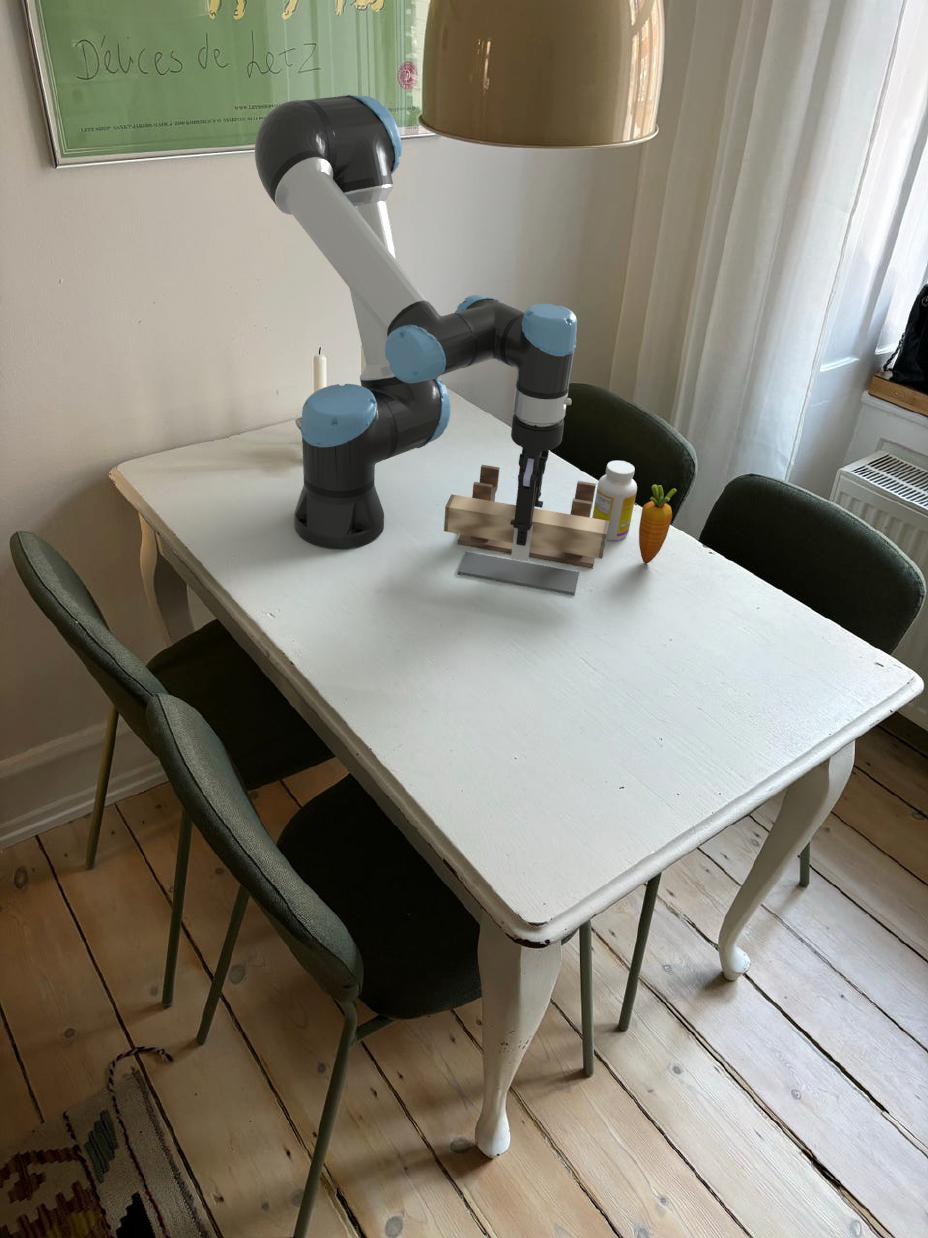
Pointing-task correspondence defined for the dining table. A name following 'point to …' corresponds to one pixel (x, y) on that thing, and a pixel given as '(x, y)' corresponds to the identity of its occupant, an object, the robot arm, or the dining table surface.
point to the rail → (546, 532)
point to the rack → (579, 507)
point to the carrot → (654, 524)
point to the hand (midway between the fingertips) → (522, 550)
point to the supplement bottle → (616, 499)
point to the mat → (519, 573)
